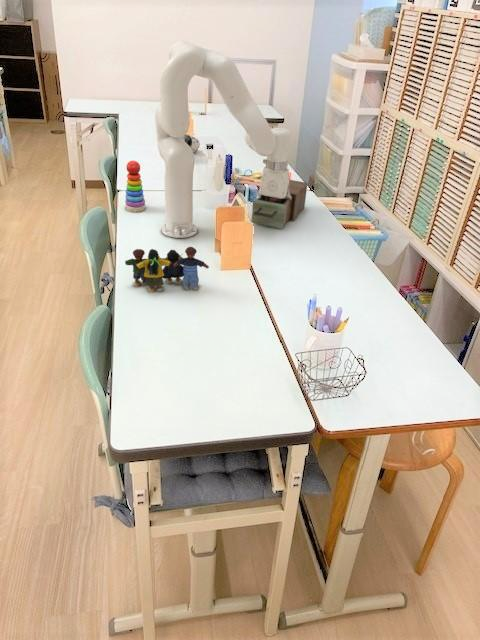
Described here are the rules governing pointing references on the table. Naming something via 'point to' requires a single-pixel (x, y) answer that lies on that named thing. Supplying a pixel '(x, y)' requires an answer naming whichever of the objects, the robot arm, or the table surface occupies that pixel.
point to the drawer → (271, 212)
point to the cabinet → (297, 197)
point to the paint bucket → (192, 142)
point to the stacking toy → (134, 188)
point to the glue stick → (273, 200)
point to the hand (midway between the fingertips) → (272, 213)
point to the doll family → (165, 268)
